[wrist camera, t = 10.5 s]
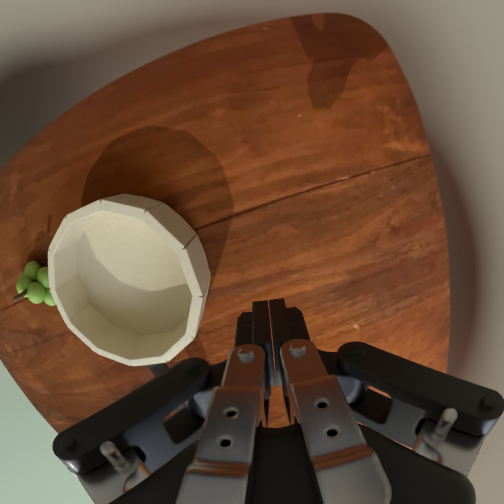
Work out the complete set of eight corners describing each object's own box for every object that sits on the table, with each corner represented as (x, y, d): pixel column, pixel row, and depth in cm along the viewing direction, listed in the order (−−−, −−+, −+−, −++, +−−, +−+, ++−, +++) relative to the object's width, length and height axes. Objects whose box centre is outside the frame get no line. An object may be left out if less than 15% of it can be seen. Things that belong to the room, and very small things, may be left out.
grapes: (26, 283, 24) (-4, 302, 19) (28, 249, 23) (-5, 265, 18) (67, 310, 25) (39, 336, 20) (71, 276, 24) (39, 298, 19)
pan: (57, 223, 22) (28, 234, 18) (180, 172, 21) (162, 173, 17) (146, 403, 29) (136, 430, 24) (256, 391, 28) (256, 422, 23)
